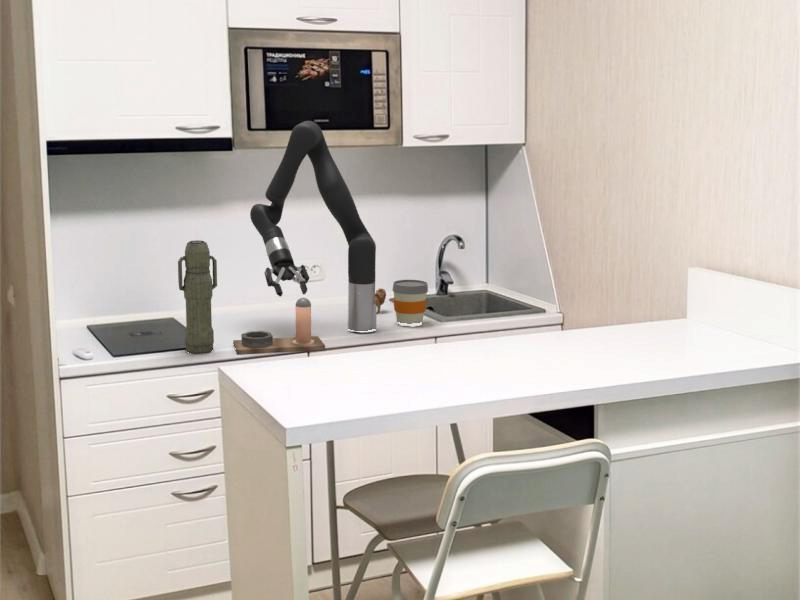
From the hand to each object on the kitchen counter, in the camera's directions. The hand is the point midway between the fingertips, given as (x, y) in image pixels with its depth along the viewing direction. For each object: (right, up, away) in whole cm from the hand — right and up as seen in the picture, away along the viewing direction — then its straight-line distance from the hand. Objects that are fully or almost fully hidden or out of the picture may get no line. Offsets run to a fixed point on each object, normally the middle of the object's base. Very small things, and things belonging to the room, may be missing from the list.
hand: (293, 294), depth 328 cm
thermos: (-28, -18, -11) cm, 35 cm away
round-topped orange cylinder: (+4, -15, -4) cm, 16 cm away
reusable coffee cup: (+38, -11, +28) cm, 49 cm away
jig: (-4, -17, -5) cm, 19 cm away
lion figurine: (+24, -7, +43) cm, 50 cm away
